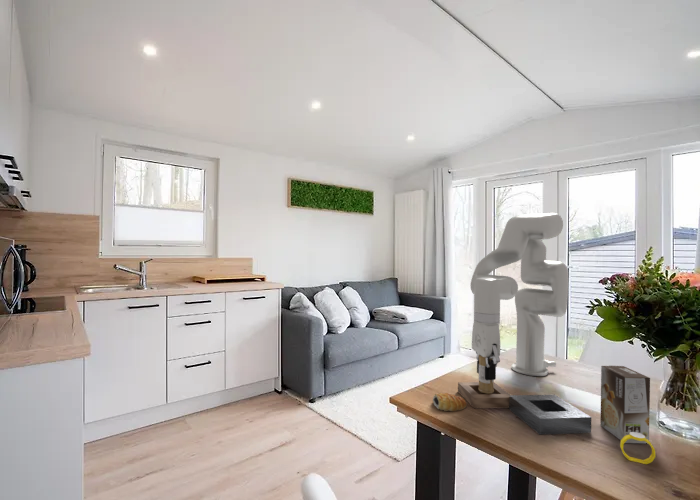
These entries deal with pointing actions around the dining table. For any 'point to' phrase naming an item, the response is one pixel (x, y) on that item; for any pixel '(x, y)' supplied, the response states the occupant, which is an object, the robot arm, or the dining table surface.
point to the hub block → (549, 414)
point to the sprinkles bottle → (484, 384)
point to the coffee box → (625, 402)
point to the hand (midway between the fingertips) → (486, 375)
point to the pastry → (449, 402)
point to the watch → (640, 438)
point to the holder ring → (484, 396)
